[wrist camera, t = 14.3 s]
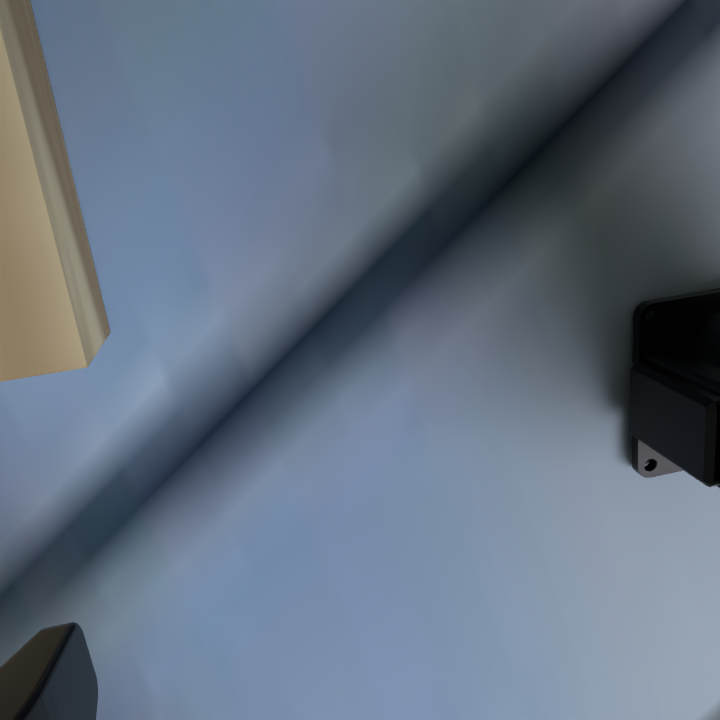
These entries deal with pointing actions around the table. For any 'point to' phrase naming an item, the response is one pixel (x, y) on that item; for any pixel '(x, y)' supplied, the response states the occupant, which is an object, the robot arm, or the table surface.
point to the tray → (40, 220)
